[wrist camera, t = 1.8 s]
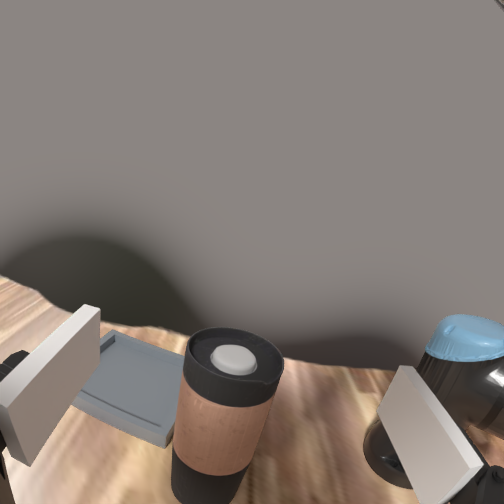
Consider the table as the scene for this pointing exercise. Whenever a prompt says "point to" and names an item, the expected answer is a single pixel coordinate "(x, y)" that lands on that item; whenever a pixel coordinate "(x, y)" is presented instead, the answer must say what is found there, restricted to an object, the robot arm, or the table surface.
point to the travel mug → (221, 411)
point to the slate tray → (134, 388)
